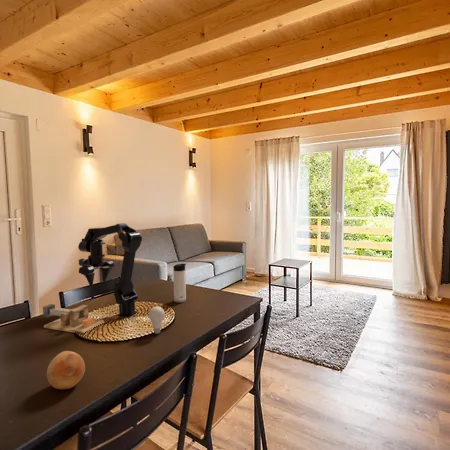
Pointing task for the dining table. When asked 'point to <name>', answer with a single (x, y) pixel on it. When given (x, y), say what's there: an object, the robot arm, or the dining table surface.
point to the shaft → (54, 311)
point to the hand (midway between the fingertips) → (97, 283)
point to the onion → (65, 370)
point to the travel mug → (179, 283)
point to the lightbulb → (156, 318)
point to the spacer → (88, 322)
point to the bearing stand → (73, 321)
